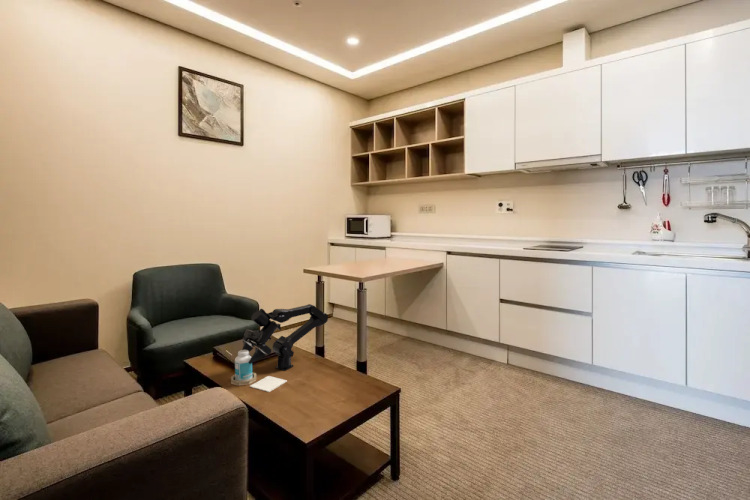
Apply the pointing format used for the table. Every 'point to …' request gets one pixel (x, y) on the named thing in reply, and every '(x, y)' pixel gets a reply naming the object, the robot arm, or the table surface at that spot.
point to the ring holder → (243, 381)
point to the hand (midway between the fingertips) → (244, 360)
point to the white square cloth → (268, 383)
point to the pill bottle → (243, 366)
